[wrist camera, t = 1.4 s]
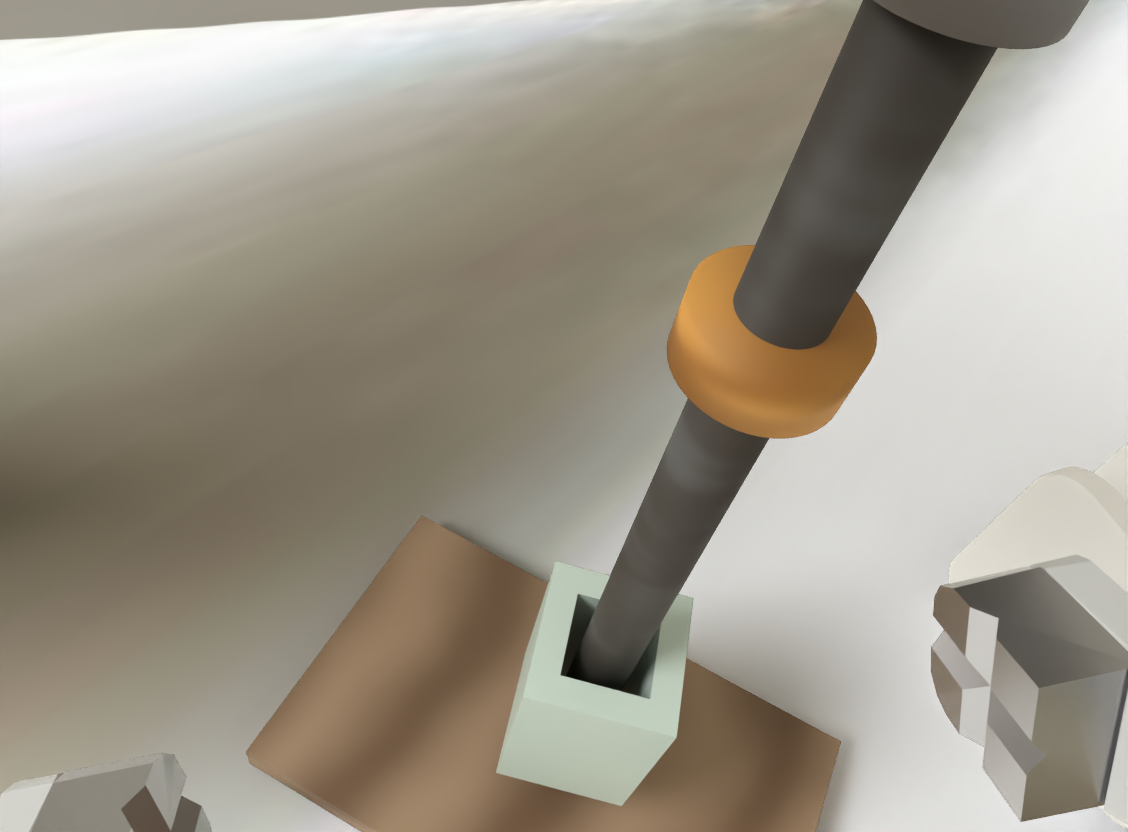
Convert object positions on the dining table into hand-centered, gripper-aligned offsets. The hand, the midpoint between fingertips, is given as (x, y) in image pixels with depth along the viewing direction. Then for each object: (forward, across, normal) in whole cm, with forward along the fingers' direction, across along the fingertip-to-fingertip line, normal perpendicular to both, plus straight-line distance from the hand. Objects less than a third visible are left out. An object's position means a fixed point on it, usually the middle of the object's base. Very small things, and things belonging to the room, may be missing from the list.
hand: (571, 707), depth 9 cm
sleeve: (+19, 0, +20) cm, 28 cm away
